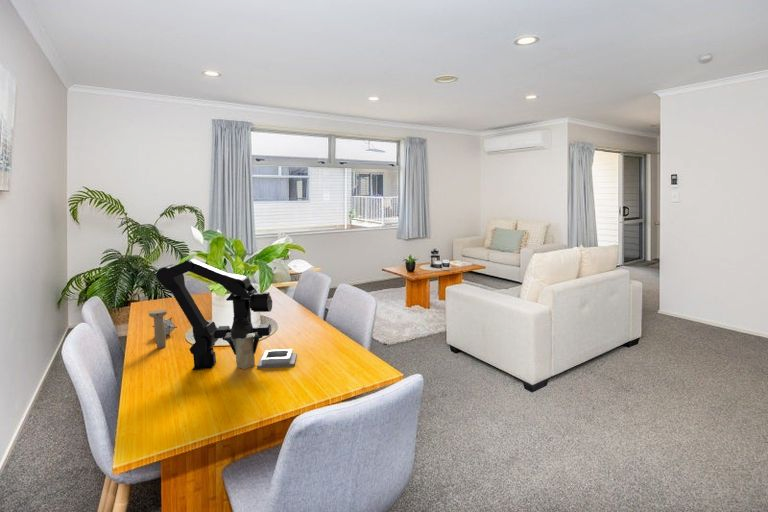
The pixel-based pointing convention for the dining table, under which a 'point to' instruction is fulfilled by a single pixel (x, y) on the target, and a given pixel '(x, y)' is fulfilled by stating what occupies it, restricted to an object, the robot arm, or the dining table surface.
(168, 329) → the grey spiky ball
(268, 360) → the socket
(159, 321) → the handle
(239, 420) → the dining table surface
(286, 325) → the dining table surface
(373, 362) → the dining table surface
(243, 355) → the box
